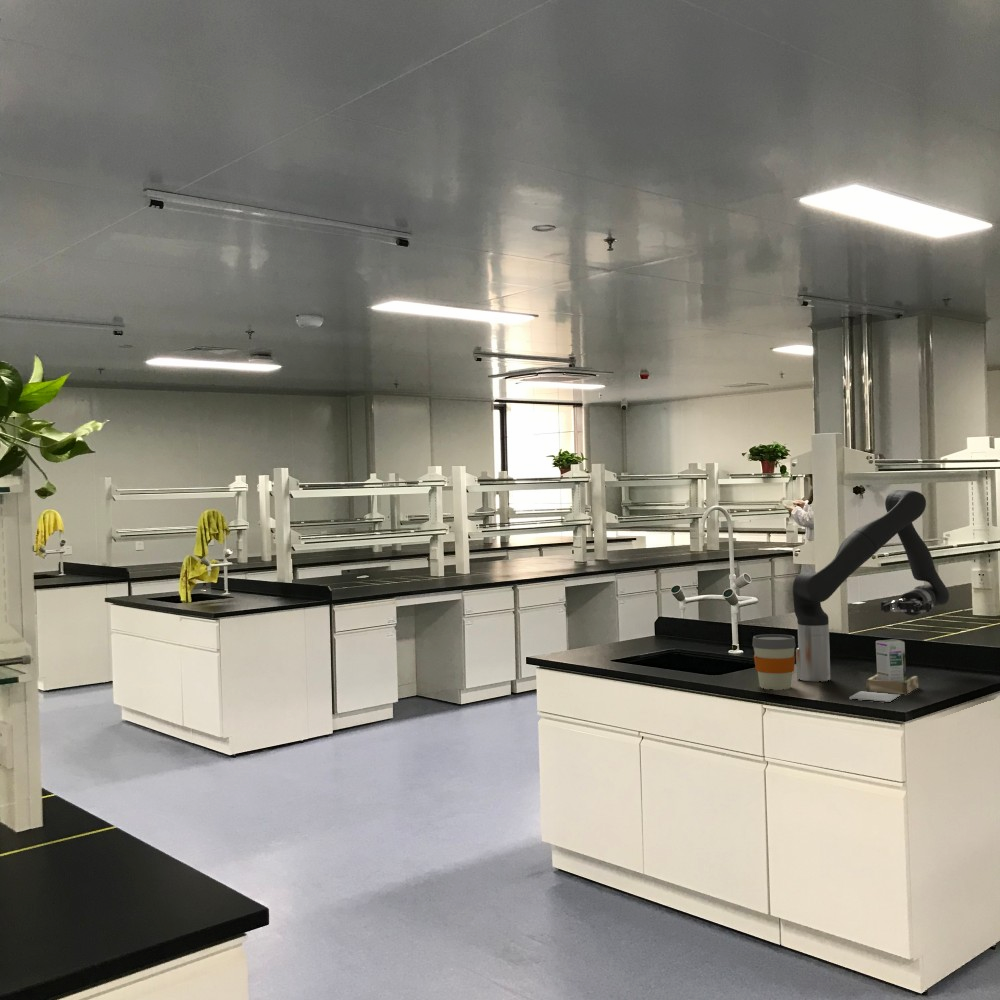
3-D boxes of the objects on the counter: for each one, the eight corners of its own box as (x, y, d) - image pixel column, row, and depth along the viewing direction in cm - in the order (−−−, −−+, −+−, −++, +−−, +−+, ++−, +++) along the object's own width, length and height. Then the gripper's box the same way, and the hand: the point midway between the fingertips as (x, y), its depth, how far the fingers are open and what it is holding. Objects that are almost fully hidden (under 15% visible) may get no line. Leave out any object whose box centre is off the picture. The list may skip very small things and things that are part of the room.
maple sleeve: (879, 684, 296) (879, 673, 296) (918, 688, 290) (917, 676, 290) (866, 692, 286) (866, 679, 286) (906, 695, 280) (906, 683, 280)
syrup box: (889, 693, 284) (888, 642, 284) (876, 689, 290) (875, 639, 290) (907, 691, 285) (905, 641, 285) (893, 688, 291) (892, 638, 291)
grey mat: (849, 699, 277) (849, 697, 277) (860, 693, 285) (860, 691, 285) (890, 703, 270) (889, 700, 270) (900, 696, 278) (900, 694, 278)
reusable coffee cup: (761, 691, 291) (760, 640, 291) (748, 684, 304) (746, 635, 304) (803, 689, 292) (801, 638, 292) (788, 682, 305) (786, 633, 305)
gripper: (891, 589, 313) (874, 596, 300) (939, 590, 304) (924, 596, 291) (892, 613, 313) (876, 620, 300) (940, 614, 304) (925, 622, 292)
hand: (899, 609), depth 296 cm, fingers open, 8 cm apart
